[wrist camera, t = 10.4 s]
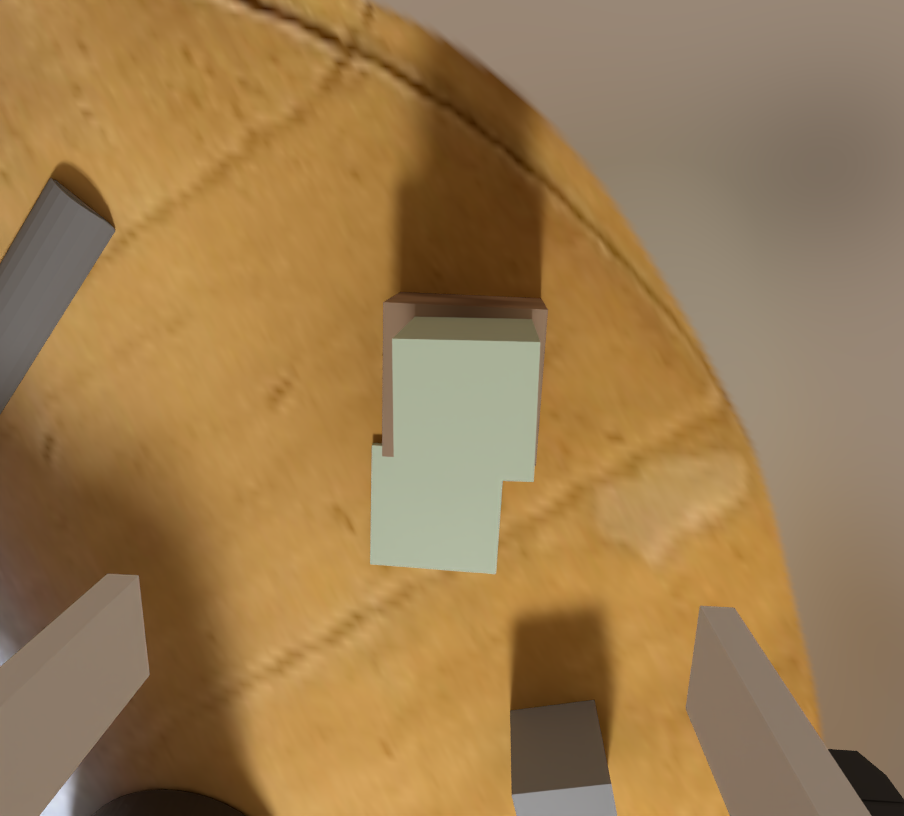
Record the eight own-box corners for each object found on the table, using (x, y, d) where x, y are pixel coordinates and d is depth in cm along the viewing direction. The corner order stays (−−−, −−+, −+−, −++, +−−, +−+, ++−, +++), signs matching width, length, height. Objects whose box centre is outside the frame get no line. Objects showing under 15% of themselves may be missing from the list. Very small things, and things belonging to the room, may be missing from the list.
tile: (371, 560, 36) (370, 564, 36) (373, 442, 34) (371, 445, 34) (495, 570, 36) (495, 574, 35) (504, 451, 34) (504, 454, 34)
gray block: (525, 777, 39) (529, 871, 34) (510, 709, 38) (511, 794, 32) (607, 768, 39) (625, 861, 33) (594, 699, 38) (611, 783, 32)
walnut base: (398, 424, 34) (382, 456, 29) (401, 291, 32) (383, 302, 27) (530, 432, 34) (535, 465, 29) (540, 298, 32) (547, 309, 27)
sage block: (415, 428, 29) (393, 476, 23) (414, 316, 28) (391, 338, 22) (527, 431, 29) (533, 481, 23) (531, 318, 27) (540, 341, 21)
